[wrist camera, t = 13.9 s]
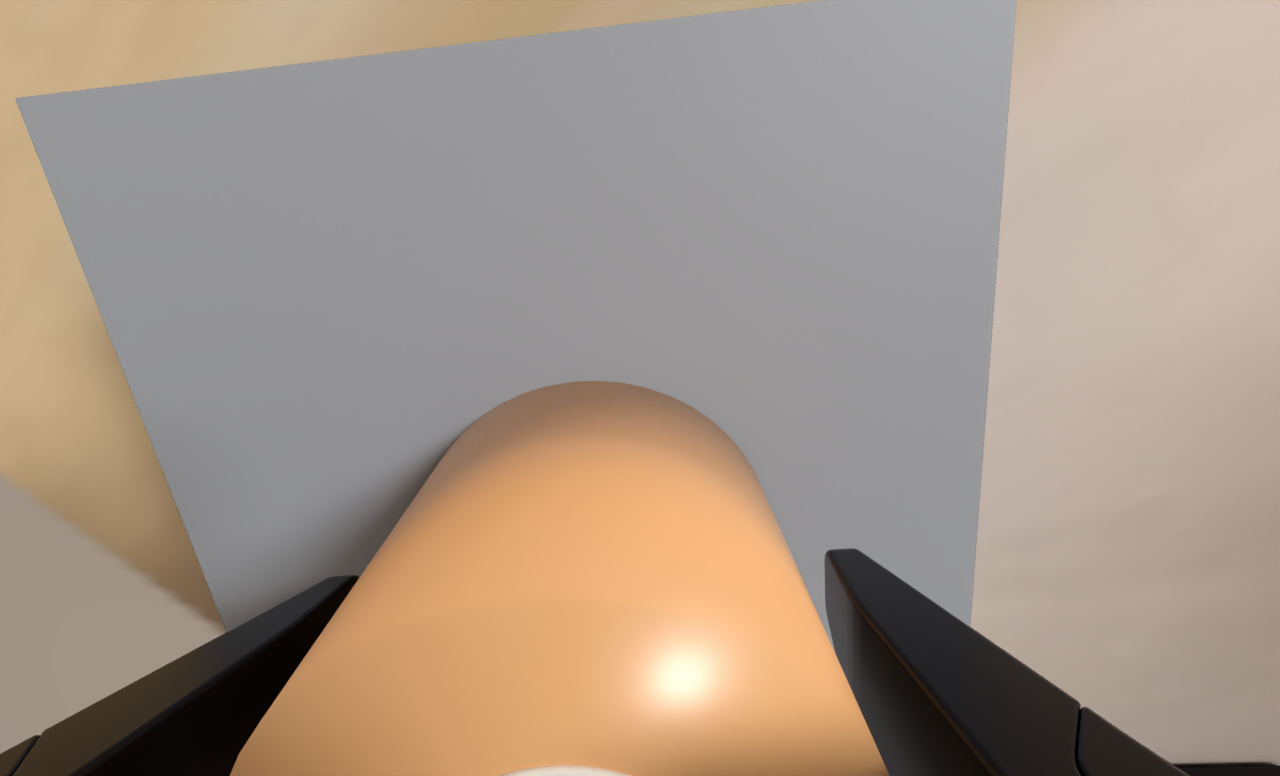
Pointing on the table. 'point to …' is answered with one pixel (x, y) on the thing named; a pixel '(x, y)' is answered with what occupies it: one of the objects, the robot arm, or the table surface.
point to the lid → (558, 269)
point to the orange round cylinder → (575, 616)
